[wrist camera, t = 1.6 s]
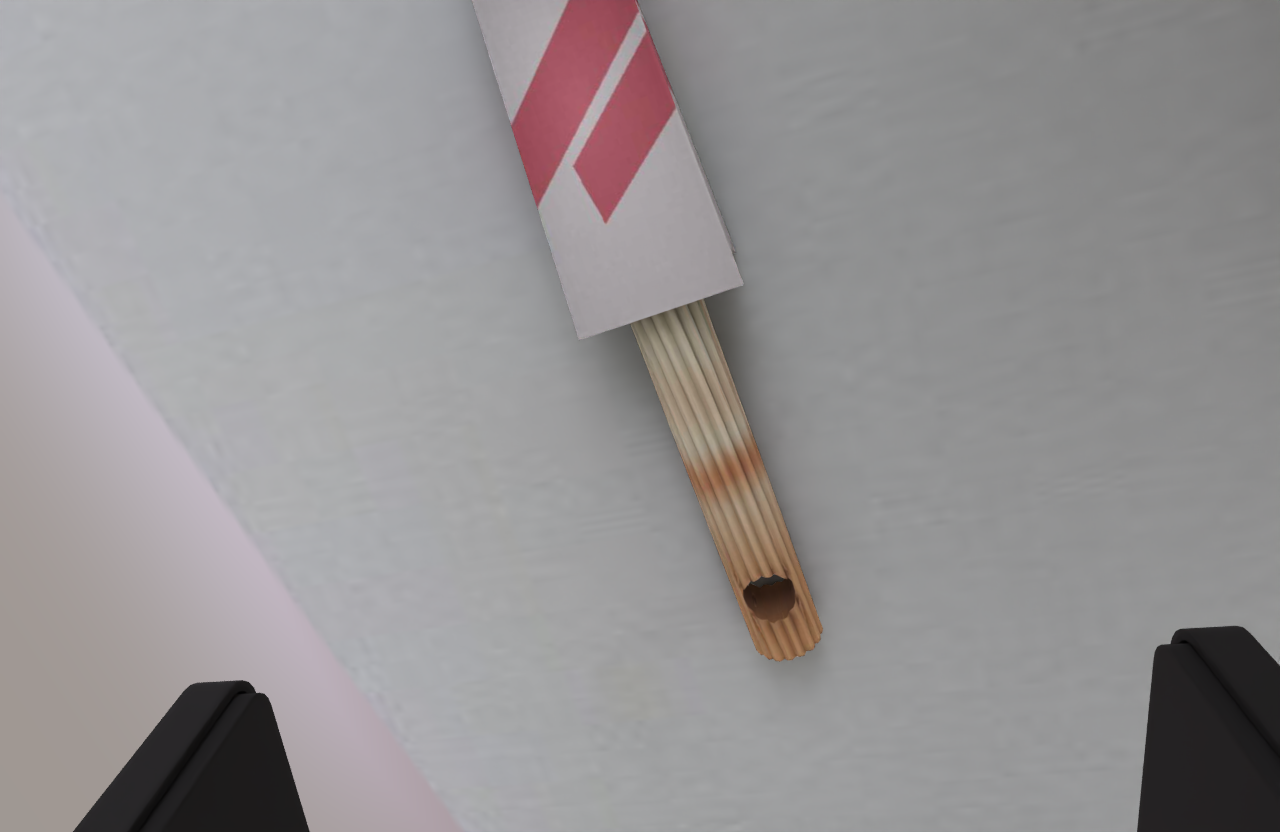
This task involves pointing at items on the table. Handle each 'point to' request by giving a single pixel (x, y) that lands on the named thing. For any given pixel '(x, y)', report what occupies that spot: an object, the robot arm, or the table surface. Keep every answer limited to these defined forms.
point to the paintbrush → (647, 263)
